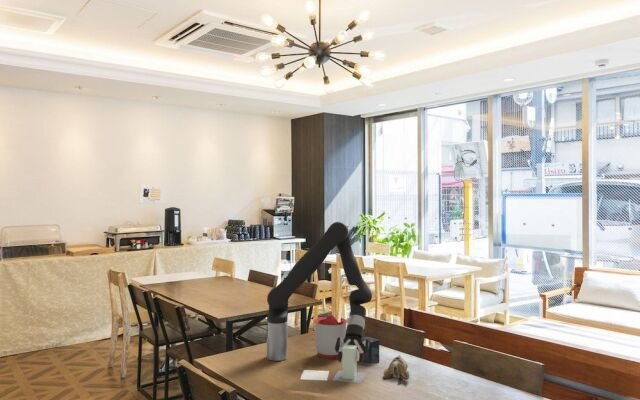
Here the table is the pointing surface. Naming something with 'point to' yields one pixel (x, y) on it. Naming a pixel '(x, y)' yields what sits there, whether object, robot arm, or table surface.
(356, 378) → the post stand
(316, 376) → the mat
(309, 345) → the table surface
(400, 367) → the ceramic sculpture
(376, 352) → the box
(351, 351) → the pale green pillar
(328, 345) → the citrus juicer
